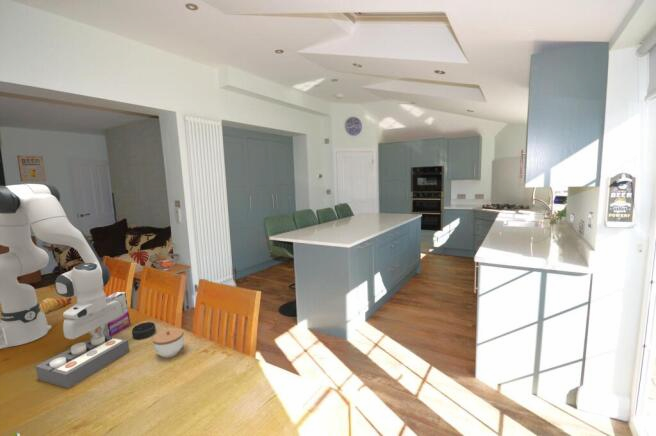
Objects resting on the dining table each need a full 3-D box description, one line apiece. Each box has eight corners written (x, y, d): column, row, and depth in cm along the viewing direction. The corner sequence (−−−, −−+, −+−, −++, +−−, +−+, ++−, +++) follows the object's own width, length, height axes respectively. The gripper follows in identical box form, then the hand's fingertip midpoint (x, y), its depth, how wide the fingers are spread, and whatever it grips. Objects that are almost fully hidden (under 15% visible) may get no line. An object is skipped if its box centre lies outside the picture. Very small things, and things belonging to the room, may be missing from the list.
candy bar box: (122, 324, 148) (117, 291, 145) (130, 324, 147) (126, 291, 144) (100, 336, 137) (95, 301, 134) (110, 337, 136) (104, 301, 133)
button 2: (69, 357, 116) (67, 347, 115) (82, 351, 120) (80, 341, 119) (77, 359, 114) (75, 349, 114) (90, 353, 118) (88, 343, 118)
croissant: (25, 326, 156) (25, 314, 153) (16, 314, 160) (16, 302, 157) (74, 308, 175) (75, 297, 172) (65, 298, 178) (66, 287, 175)
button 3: (89, 349, 122) (87, 339, 122) (100, 343, 126) (99, 334, 126) (97, 351, 121) (95, 341, 120) (108, 344, 125) (106, 335, 124)
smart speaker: (127, 339, 134) (126, 330, 134) (144, 328, 143) (143, 320, 142) (144, 341, 132) (143, 332, 131) (160, 330, 141) (159, 322, 140)
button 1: (48, 373, 109) (46, 363, 109) (62, 366, 114) (60, 356, 113) (56, 376, 108) (54, 365, 107) (70, 368, 112) (68, 358, 111)
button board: (38, 379, 109) (35, 365, 108) (101, 345, 129) (99, 333, 129) (68, 388, 104) (65, 373, 103) (129, 351, 124) (127, 338, 123)
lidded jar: (189, 352, 122) (187, 329, 121) (160, 365, 115) (157, 341, 113) (178, 342, 130) (176, 321, 128) (150, 354, 122) (147, 331, 121)
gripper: (112, 293, 132) (117, 324, 134) (57, 315, 113) (64, 350, 115) (123, 295, 130) (128, 326, 132) (69, 317, 110) (75, 353, 113)
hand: (97, 337), depth 123 cm, fingers closed, pressing on button 3
